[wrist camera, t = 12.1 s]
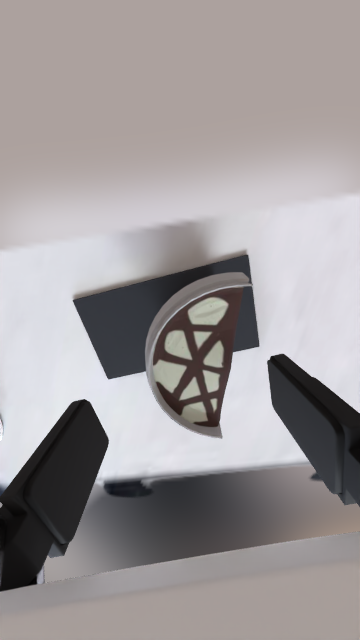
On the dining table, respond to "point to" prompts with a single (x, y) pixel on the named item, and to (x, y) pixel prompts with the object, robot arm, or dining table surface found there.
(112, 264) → the dining table surface
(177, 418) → the food container
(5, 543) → the robot arm
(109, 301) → the mat
